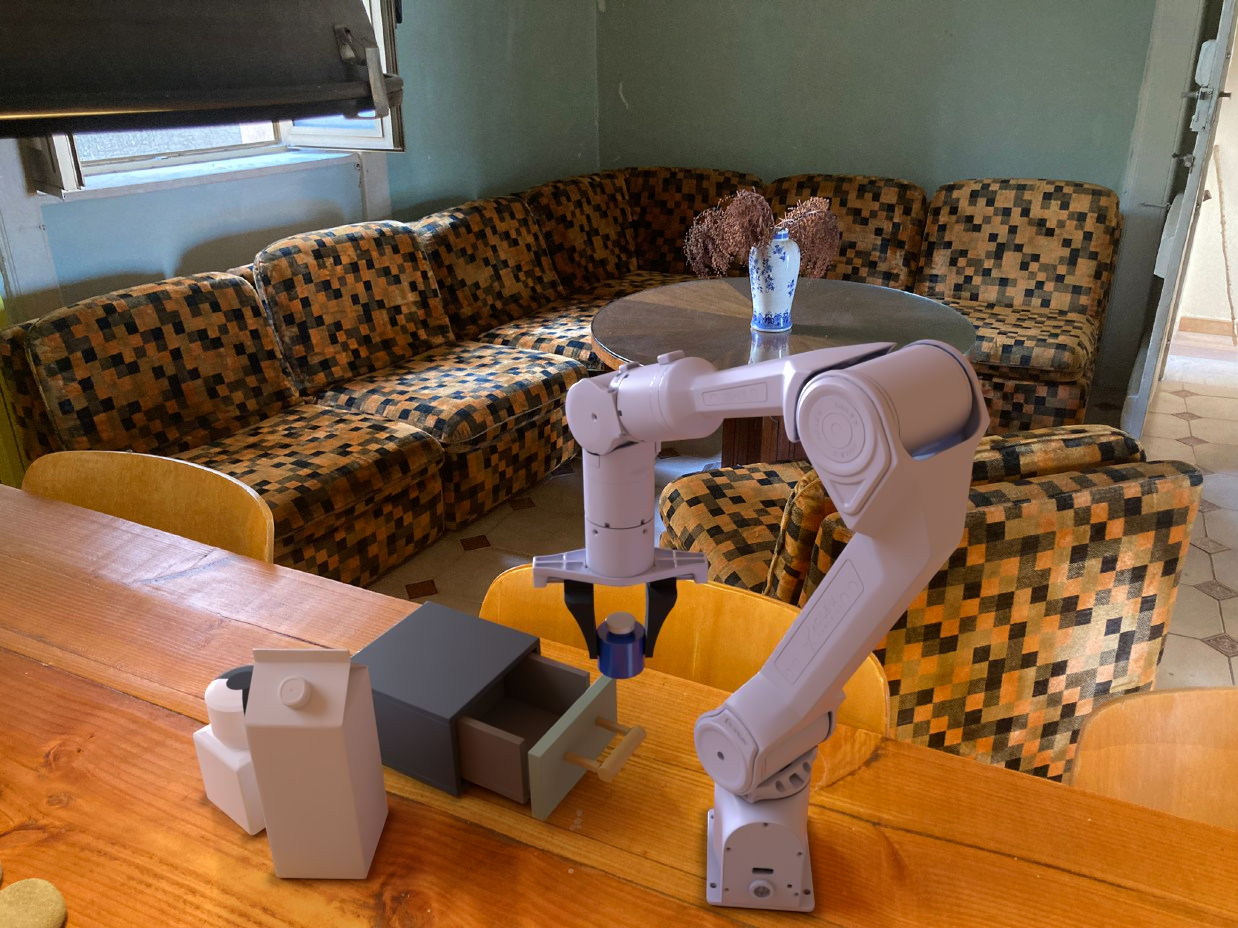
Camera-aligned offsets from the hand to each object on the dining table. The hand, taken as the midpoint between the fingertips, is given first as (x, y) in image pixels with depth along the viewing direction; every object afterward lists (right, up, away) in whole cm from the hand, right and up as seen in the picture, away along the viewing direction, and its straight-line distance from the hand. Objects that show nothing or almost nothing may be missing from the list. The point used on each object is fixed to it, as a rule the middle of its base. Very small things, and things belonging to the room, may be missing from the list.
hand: (621, 651), depth 84 cm
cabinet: (-17, -9, +7) cm, 20 cm away
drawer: (-7, -10, +1) cm, 12 cm away
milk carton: (-23, -15, -6) cm, 28 cm away
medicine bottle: (-31, -12, -1) cm, 33 cm away
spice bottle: (0, -1, +1) cm, 1 cm away
